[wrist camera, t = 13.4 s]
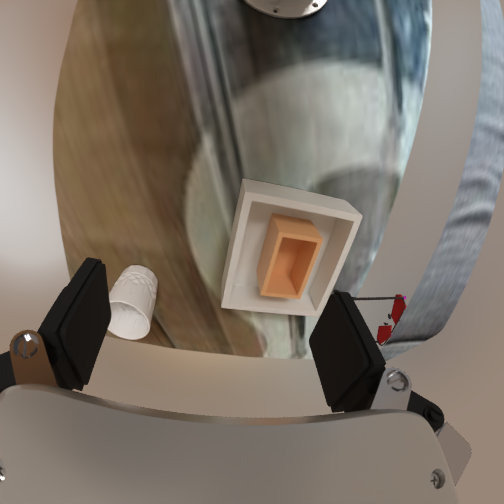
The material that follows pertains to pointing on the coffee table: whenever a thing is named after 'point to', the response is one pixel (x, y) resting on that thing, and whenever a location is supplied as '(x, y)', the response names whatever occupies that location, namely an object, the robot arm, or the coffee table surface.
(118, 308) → the white cup
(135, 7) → the coffee table surface
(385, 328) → the glasses
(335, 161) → the coffee table surface
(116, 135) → the coffee table surface
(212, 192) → the coffee table surface
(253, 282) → the box
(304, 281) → the orange crate
